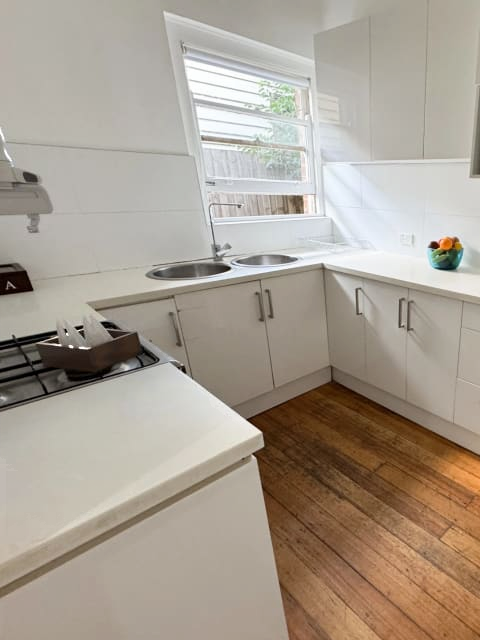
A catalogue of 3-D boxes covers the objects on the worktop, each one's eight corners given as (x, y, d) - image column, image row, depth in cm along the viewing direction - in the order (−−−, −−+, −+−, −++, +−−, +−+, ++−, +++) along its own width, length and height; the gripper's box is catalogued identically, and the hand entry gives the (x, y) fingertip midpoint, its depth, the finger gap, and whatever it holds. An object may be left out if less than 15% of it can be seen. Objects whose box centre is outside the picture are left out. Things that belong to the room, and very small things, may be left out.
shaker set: (122, 353, 97) (110, 311, 93) (110, 359, 93) (97, 316, 89) (74, 353, 97) (60, 311, 93) (60, 359, 93) (45, 316, 89)
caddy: (95, 372, 88) (87, 349, 86) (43, 365, 91) (35, 343, 89) (143, 352, 99) (137, 331, 97) (95, 347, 103) (89, 326, 100)
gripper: (-59, 171, 80) (-33, 238, 85) (48, 176, 99) (65, 231, 104) (-80, 171, 81) (-53, 238, 86) (29, 176, 100) (47, 231, 105)
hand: (12, 234), depth 95 cm, fingers open, 8 cm apart
